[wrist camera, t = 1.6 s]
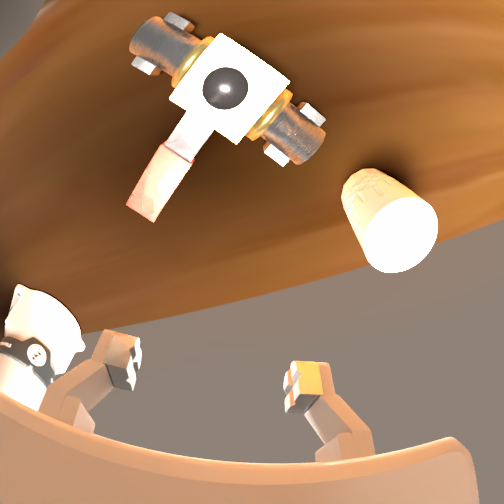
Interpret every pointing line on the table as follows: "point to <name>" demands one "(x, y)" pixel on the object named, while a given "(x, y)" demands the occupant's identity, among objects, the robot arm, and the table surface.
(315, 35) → the table surface
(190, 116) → the lever
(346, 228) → the table surface
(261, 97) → the valve
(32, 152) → the table surface
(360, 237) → the white cup
